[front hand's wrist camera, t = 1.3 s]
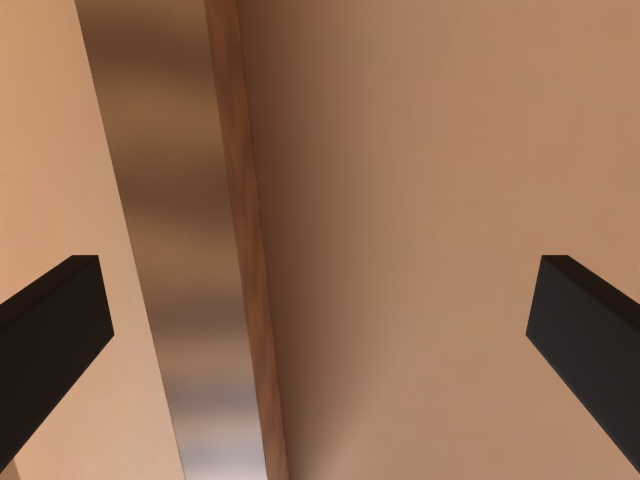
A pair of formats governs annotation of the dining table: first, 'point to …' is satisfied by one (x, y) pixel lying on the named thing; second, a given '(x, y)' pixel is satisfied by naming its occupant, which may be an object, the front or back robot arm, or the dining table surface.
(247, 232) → the beam
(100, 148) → the dining table surface
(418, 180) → the dining table surface
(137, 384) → the dining table surface
